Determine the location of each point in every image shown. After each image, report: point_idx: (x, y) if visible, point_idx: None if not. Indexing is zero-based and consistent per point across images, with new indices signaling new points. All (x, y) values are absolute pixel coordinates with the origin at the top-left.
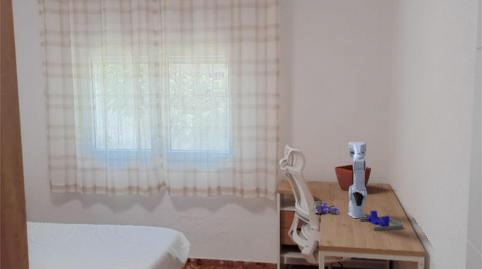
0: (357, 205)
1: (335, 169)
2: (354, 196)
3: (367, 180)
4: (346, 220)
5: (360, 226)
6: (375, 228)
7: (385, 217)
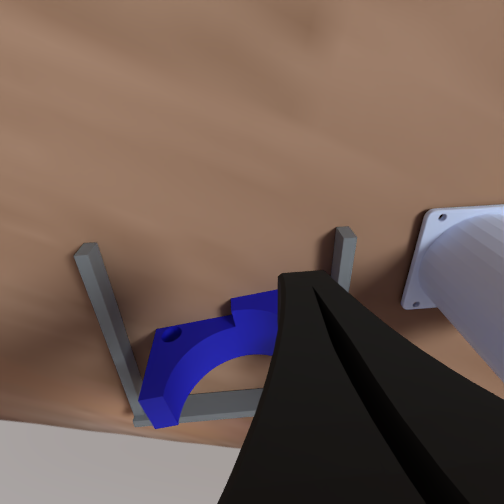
0: (286, 277)
1: None
2: (483, 412)
3: None
4: (412, 113)
5: (203, 176)
6: (81, 263)
7: (141, 401)
